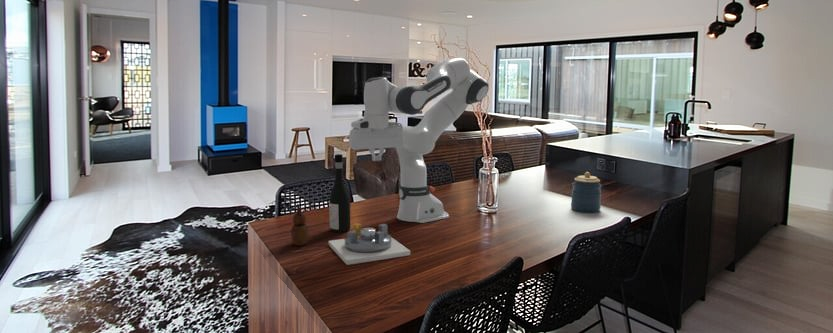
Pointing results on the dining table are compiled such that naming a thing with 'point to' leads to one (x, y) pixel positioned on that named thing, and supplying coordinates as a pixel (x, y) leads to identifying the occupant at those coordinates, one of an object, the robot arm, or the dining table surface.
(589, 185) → the canister
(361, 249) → the lathe chuck
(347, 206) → the wine bottle
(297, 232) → the wooden figurine
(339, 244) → the base plate
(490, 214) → the dining table surface
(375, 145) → the robot arm
